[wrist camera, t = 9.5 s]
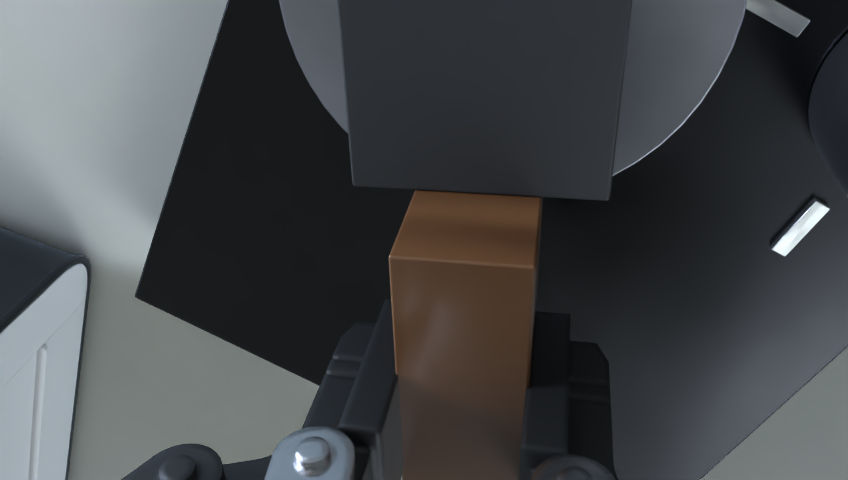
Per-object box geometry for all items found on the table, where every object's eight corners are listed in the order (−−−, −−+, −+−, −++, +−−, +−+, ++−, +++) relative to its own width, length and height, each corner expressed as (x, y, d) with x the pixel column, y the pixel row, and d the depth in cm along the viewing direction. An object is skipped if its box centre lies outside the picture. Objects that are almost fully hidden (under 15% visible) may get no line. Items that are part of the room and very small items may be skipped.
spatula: (333, -134, 11) (272, -110, 9) (645, -139, 10) (663, -114, 8) (381, 450, 17) (352, 547, 15) (576, 472, 17) (576, 578, 14)
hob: (430, -503, 13) (399, -560, 11) (1212, -29, 15) (1325, 6, 12) (174, 249, 23) (130, 301, 21) (660, 486, 24) (668, 558, 22)
